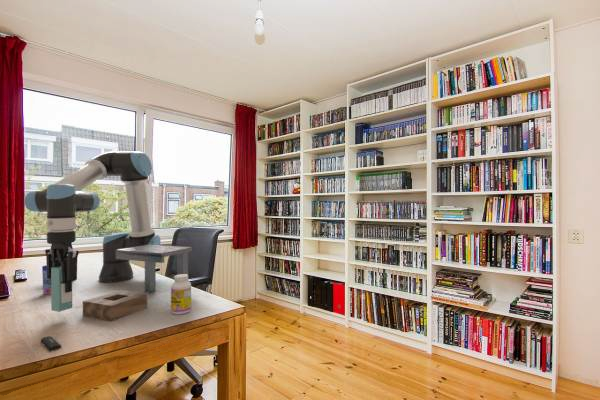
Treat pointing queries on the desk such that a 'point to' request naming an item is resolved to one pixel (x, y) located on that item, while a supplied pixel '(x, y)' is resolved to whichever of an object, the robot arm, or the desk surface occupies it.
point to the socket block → (114, 305)
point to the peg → (57, 290)
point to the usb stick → (50, 343)
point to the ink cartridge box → (46, 281)
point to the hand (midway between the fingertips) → (61, 300)
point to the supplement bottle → (180, 295)
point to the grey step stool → (155, 260)
